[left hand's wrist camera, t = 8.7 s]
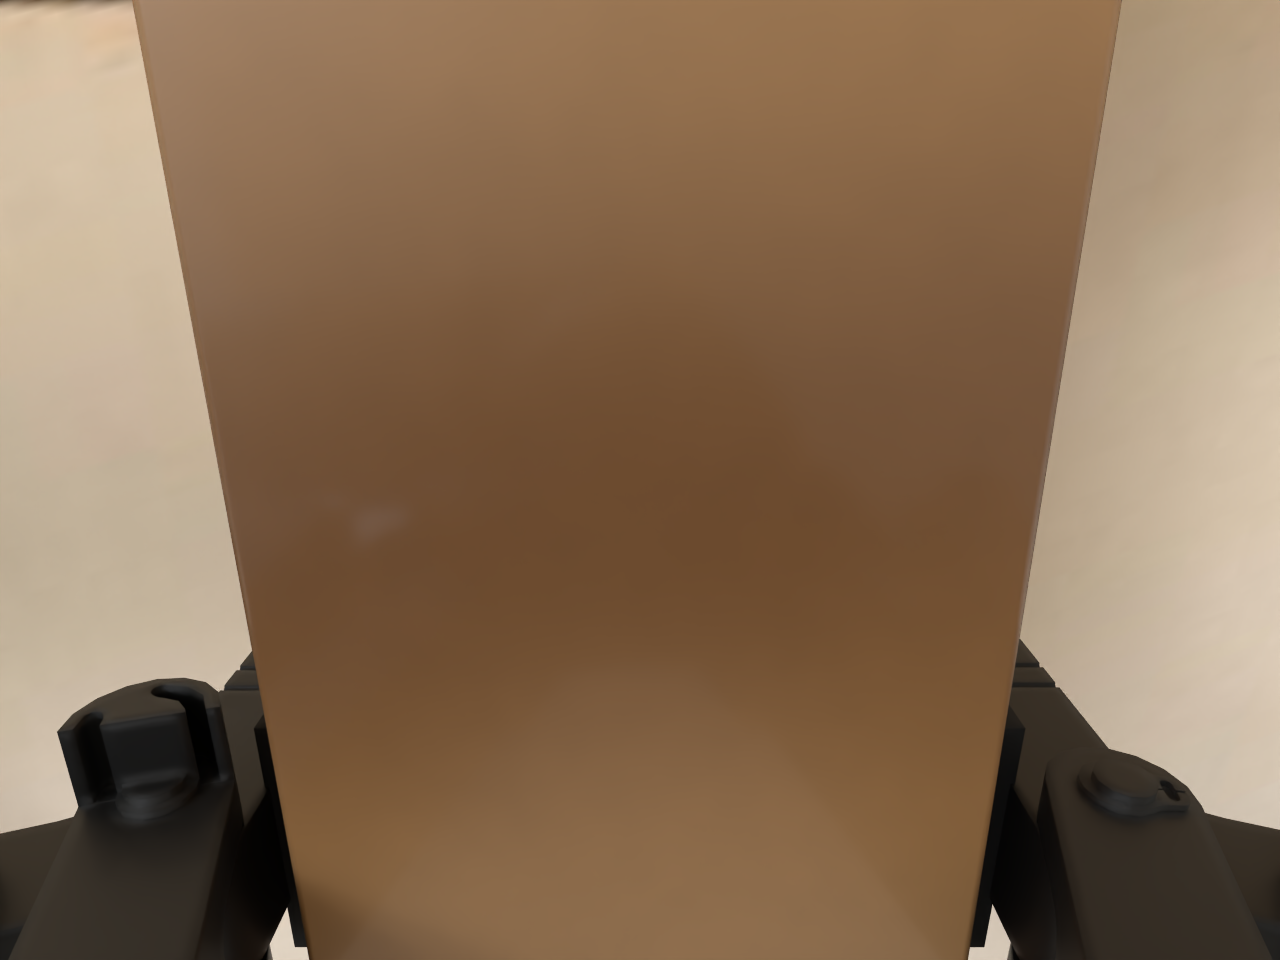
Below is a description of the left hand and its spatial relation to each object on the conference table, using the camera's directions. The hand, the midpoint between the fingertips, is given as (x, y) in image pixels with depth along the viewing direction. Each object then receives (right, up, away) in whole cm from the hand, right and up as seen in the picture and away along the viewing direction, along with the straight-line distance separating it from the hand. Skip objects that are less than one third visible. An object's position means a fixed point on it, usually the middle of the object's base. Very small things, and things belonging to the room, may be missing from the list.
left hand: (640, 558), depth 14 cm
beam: (0, +19, -6) cm, 20 cm away
